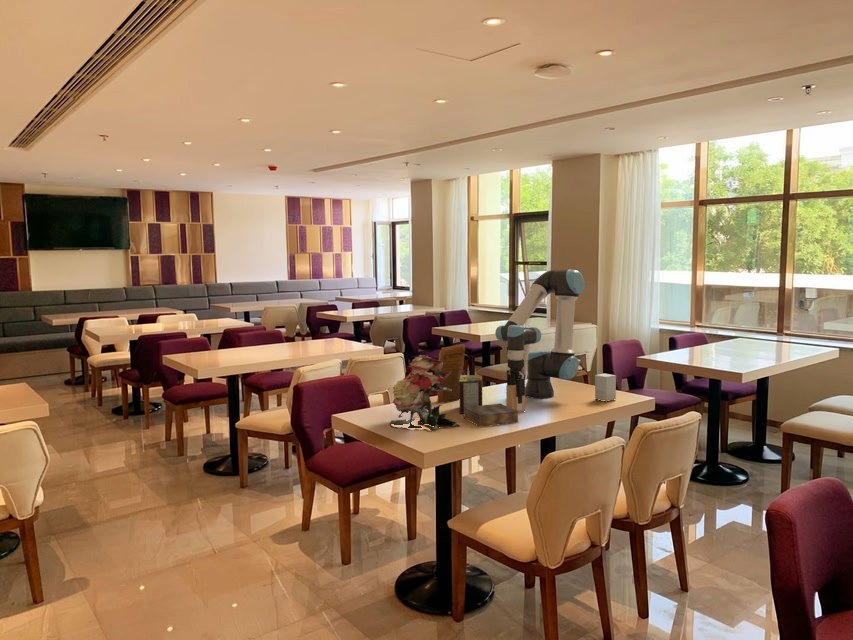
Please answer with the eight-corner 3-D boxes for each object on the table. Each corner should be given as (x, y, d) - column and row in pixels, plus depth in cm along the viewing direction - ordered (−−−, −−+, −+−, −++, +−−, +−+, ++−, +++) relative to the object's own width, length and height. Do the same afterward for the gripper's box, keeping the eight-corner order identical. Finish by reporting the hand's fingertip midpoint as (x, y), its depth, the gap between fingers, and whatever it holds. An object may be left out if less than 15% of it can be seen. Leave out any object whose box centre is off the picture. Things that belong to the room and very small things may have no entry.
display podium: (500, 414, 286) (500, 403, 285) (517, 422, 271) (517, 411, 270) (464, 418, 279) (464, 407, 279) (480, 426, 264) (480, 415, 264)
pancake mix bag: (469, 398, 319) (469, 343, 317) (441, 404, 308) (440, 347, 305) (460, 396, 325) (460, 342, 322) (432, 402, 313) (431, 346, 310)
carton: (519, 409, 294) (519, 384, 293) (525, 411, 290) (525, 386, 289) (506, 411, 292) (506, 385, 291) (511, 413, 287) (511, 387, 286)
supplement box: (616, 400, 311) (616, 375, 310) (606, 402, 307) (606, 376, 306) (604, 397, 317) (604, 373, 316) (594, 399, 313) (594, 374, 312)
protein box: (482, 407, 301) (482, 374, 300) (482, 414, 286) (482, 381, 284) (460, 406, 302) (460, 374, 300) (459, 414, 287) (459, 380, 285)
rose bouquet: (419, 413, 289) (418, 349, 286) (465, 425, 268) (465, 355, 265) (375, 424, 271) (374, 355, 269) (421, 437, 250) (420, 362, 248)
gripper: (499, 356, 296) (499, 405, 298) (518, 362, 279) (518, 413, 281) (513, 355, 299) (513, 404, 301) (533, 361, 281) (533, 412, 284)
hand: (515, 408), depth 291 cm, fingers open, 5 cm apart
